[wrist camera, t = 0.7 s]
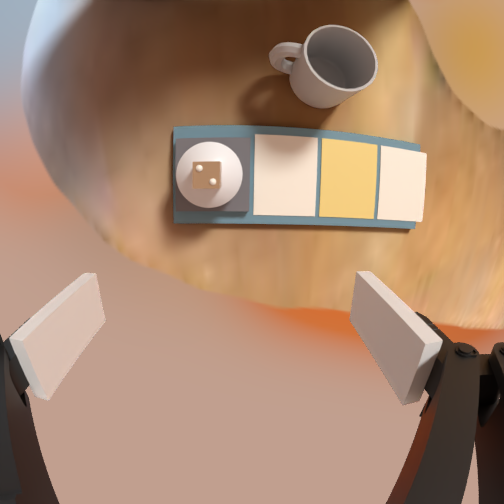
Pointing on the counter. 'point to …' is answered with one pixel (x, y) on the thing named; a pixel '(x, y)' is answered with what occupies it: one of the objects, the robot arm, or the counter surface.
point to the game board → (310, 178)
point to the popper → (209, 174)
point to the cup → (327, 65)
